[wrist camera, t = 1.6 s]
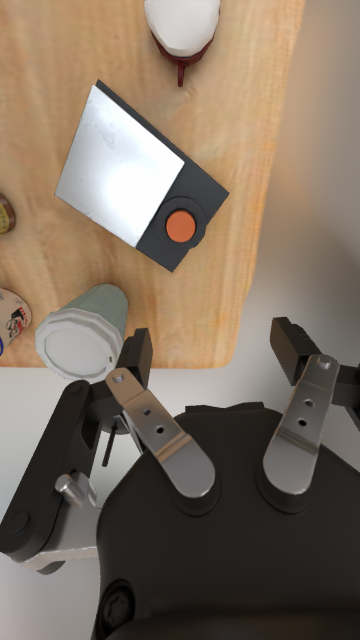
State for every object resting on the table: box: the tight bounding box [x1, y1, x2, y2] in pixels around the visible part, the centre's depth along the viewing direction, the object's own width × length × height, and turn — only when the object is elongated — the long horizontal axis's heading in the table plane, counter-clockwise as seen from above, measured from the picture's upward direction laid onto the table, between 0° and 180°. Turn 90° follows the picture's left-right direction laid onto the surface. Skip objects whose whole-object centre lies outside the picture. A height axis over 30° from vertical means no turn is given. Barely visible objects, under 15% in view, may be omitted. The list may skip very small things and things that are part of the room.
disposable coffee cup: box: [35, 284, 128, 383], centre depth 33 cm, size 11×11×15 cm
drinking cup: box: [102, 415, 129, 467], centre depth 38 cm, size 8×8×20 cm
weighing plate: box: [54, 84, 185, 248], centre depth 27 cm, size 11×12×1 cm
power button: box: [166, 210, 195, 242], centre depth 29 cm, size 4×4×2 cm
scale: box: [96, 79, 229, 273], centre depth 29 cm, size 18×13×3 cm
